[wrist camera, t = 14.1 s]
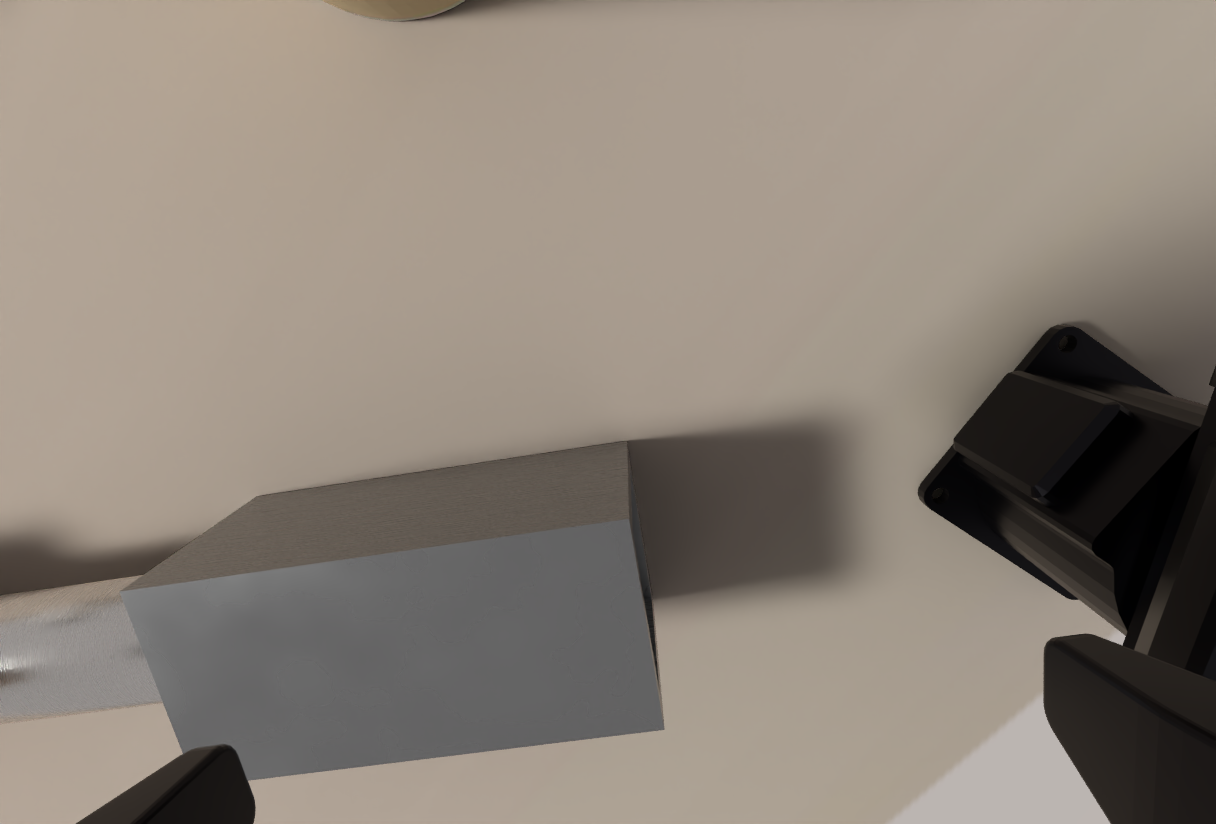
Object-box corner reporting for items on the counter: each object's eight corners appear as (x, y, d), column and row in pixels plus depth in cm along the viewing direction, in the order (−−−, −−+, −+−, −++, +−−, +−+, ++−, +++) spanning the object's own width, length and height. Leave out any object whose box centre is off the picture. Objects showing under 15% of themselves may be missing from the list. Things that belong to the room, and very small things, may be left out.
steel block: (627, 440, 20) (629, 518, 14) (653, 600, 21) (664, 729, 16) (256, 496, 21) (118, 591, 15) (304, 647, 22) (196, 786, 16)
